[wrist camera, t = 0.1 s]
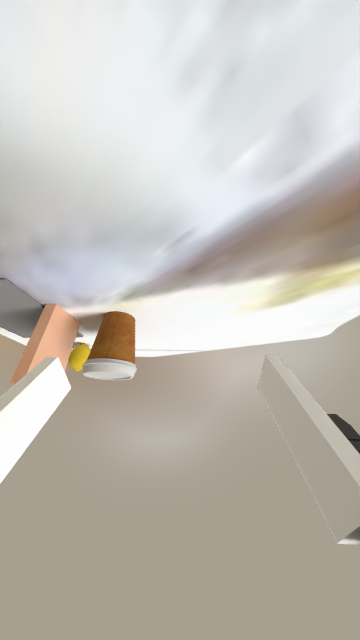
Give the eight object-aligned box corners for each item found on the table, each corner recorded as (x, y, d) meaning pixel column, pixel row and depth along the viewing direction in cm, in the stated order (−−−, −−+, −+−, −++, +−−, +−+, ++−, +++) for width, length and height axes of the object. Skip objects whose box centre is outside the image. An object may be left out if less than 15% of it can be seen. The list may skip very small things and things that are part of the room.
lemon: (96, 343, 49) (89, 370, 45) (92, 348, 53) (85, 374, 49) (75, 338, 46) (65, 368, 43) (72, 344, 50) (63, 371, 47)
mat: (-98, 279, 25) (-100, 281, 25) (5, 278, 25) (4, 280, 25) (24, 336, 45) (23, 337, 45) (83, 335, 44) (82, 337, 44)
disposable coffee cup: (132, 331, 42) (124, 381, 36) (91, 320, 37) (75, 377, 31) (150, 316, 35) (144, 375, 30) (103, 301, 30) (86, 368, 25)
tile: (45, 304, 31) (7, 383, 25) (56, 303, 31) (22, 383, 24) (70, 323, 38) (47, 389, 32) (80, 323, 38) (58, 389, 32)
